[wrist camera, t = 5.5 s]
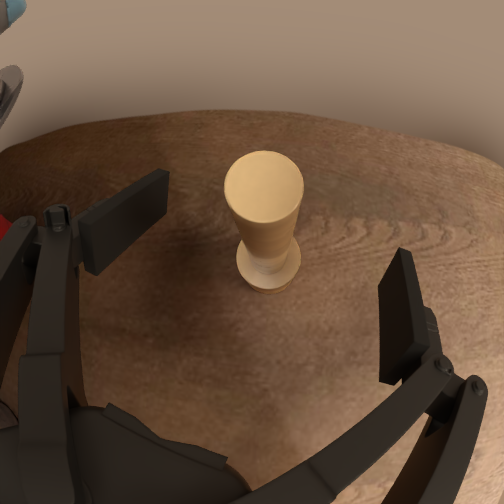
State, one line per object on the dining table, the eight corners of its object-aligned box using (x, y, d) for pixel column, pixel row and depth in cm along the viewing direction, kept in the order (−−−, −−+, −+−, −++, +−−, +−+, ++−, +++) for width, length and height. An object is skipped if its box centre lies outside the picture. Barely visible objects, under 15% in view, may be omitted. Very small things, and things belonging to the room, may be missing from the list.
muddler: (234, 280, 24) (166, 219, 8) (257, 234, 25) (232, 108, 9) (281, 302, 23) (301, 282, 8) (303, 256, 24) (354, 156, 8)
